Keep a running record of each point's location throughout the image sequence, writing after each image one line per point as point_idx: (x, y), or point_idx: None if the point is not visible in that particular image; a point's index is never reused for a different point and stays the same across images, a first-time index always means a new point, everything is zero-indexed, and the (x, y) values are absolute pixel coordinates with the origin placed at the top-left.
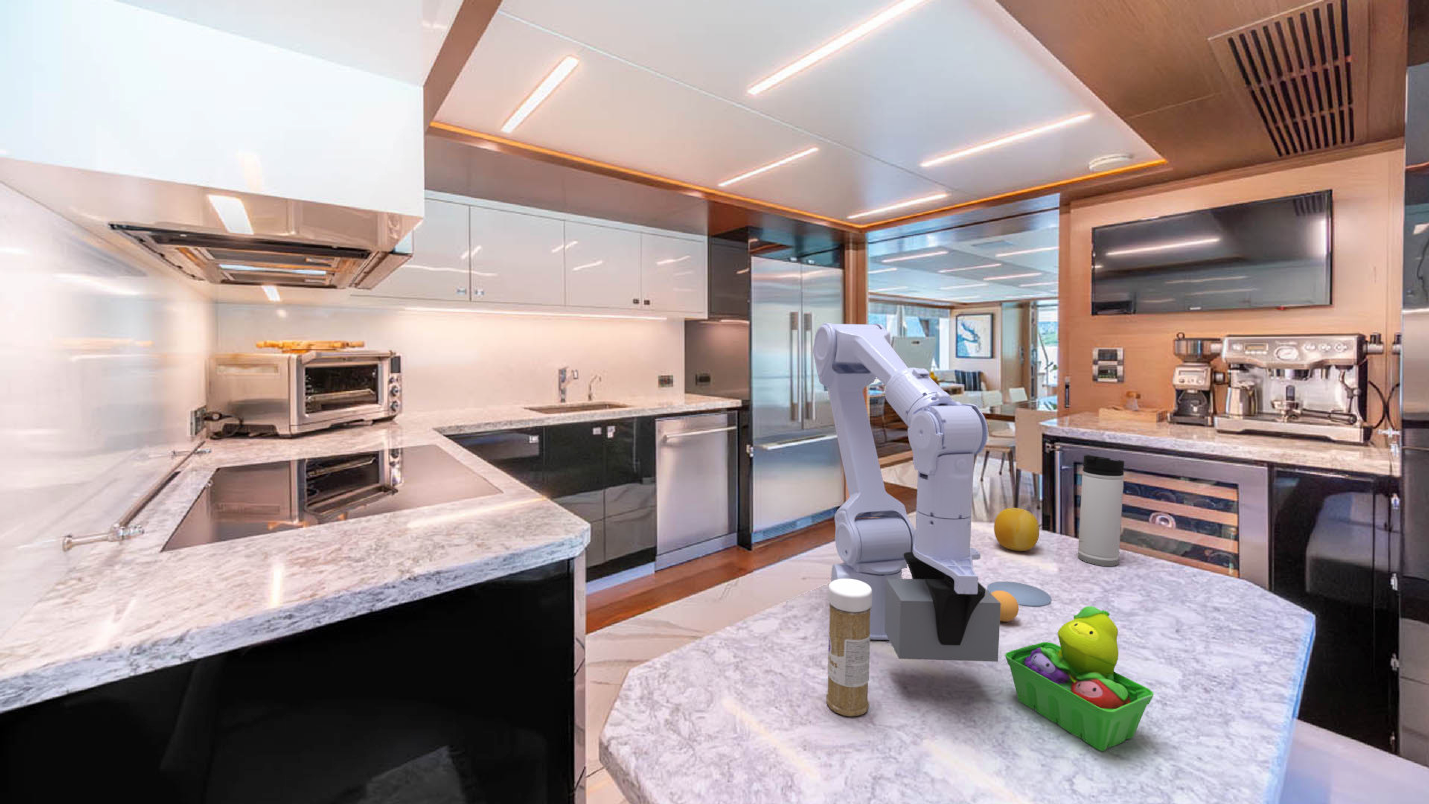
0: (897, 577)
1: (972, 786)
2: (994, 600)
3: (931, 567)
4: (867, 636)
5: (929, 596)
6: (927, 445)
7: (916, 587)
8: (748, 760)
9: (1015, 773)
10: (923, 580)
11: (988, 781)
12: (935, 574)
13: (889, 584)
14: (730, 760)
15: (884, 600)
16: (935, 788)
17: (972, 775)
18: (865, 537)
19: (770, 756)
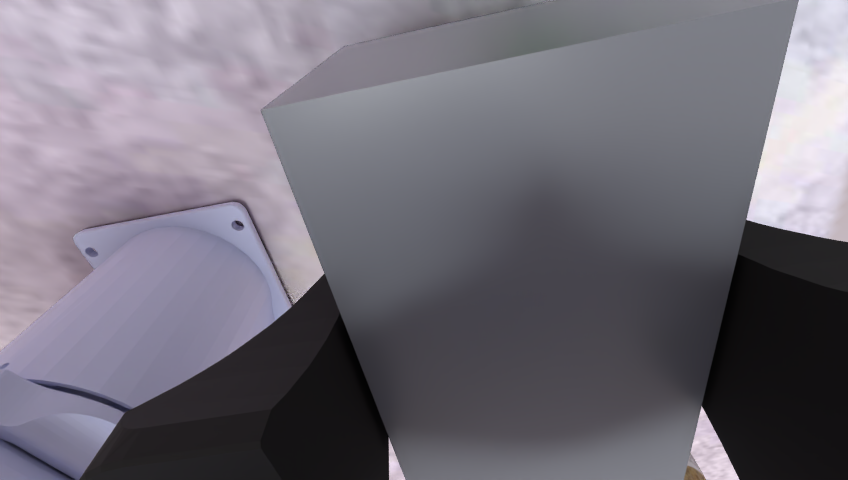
0: (118, 379)
1: (842, 136)
2: (727, 47)
3: (355, 476)
4: (691, 469)
5: (633, 425)
6: None
7: (519, 461)
8: (707, 432)
9: (831, 21)
10: (407, 431)
11: (838, 97)
12: (350, 407)
13: None
14: (705, 446)
15: (218, 348)
16: (827, 206)
17: (811, 129)
18: None
19: (702, 413)
